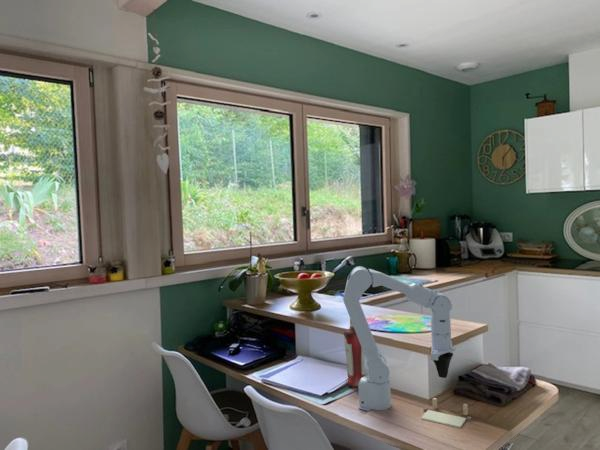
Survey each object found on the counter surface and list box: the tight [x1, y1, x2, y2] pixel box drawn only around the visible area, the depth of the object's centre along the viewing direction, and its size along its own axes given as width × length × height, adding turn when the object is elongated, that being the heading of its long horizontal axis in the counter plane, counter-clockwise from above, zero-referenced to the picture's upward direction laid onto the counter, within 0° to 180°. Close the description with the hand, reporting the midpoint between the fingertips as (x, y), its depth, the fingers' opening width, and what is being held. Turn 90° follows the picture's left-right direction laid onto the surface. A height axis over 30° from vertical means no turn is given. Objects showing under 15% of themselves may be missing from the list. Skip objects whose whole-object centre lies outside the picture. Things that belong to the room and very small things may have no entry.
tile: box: [420, 409, 467, 429], centre depth 127 cm, size 11×6×1 cm, turn 54°
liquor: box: [343, 318, 366, 389], centre depth 158 cm, size 7×7×28 cm
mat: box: [423, 397, 472, 422], centre depth 129 cm, size 15×16×4 cm
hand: (443, 376), depth 137 cm, fingers closed
